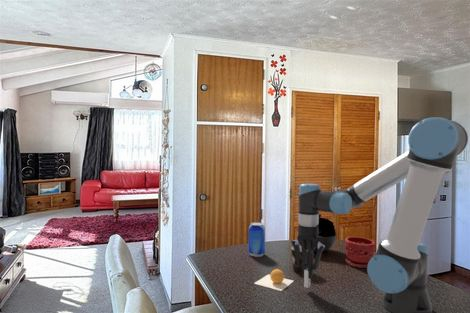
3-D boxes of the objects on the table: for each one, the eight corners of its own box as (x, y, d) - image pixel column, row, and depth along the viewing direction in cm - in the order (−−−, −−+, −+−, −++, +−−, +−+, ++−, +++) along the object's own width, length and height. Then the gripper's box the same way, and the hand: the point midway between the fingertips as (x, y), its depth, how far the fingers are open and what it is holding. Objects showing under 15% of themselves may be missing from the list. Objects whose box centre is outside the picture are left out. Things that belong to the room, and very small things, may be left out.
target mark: (294, 281, 135) (294, 280, 135) (281, 291, 125) (281, 290, 125) (268, 274, 141) (268, 274, 141) (253, 283, 131) (253, 283, 131)
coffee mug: (310, 275, 141) (311, 252, 141) (290, 273, 143) (290, 250, 143) (310, 266, 153) (310, 244, 153) (291, 264, 154) (291, 243, 154)
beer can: (246, 256, 166) (247, 224, 166) (250, 251, 174) (251, 221, 174) (262, 258, 164) (263, 226, 163) (266, 253, 172) (266, 222, 171)
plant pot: (346, 268, 151) (346, 242, 151) (343, 259, 164) (344, 235, 164) (376, 271, 148) (377, 244, 148) (371, 261, 161) (372, 237, 160)
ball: (281, 283, 134) (289, 275, 132) (274, 288, 130) (283, 279, 128) (271, 273, 137) (279, 264, 135) (265, 277, 132) (273, 268, 130)
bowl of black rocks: (322, 259, 163) (323, 221, 162) (290, 250, 177) (291, 215, 177) (343, 251, 176) (344, 216, 176) (312, 243, 191) (312, 211, 191)
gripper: (328, 225, 124) (327, 287, 125) (296, 220, 132) (295, 279, 132) (321, 228, 118) (320, 294, 118) (288, 223, 125) (287, 285, 126)
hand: (307, 286), depth 125 cm, fingers closed
